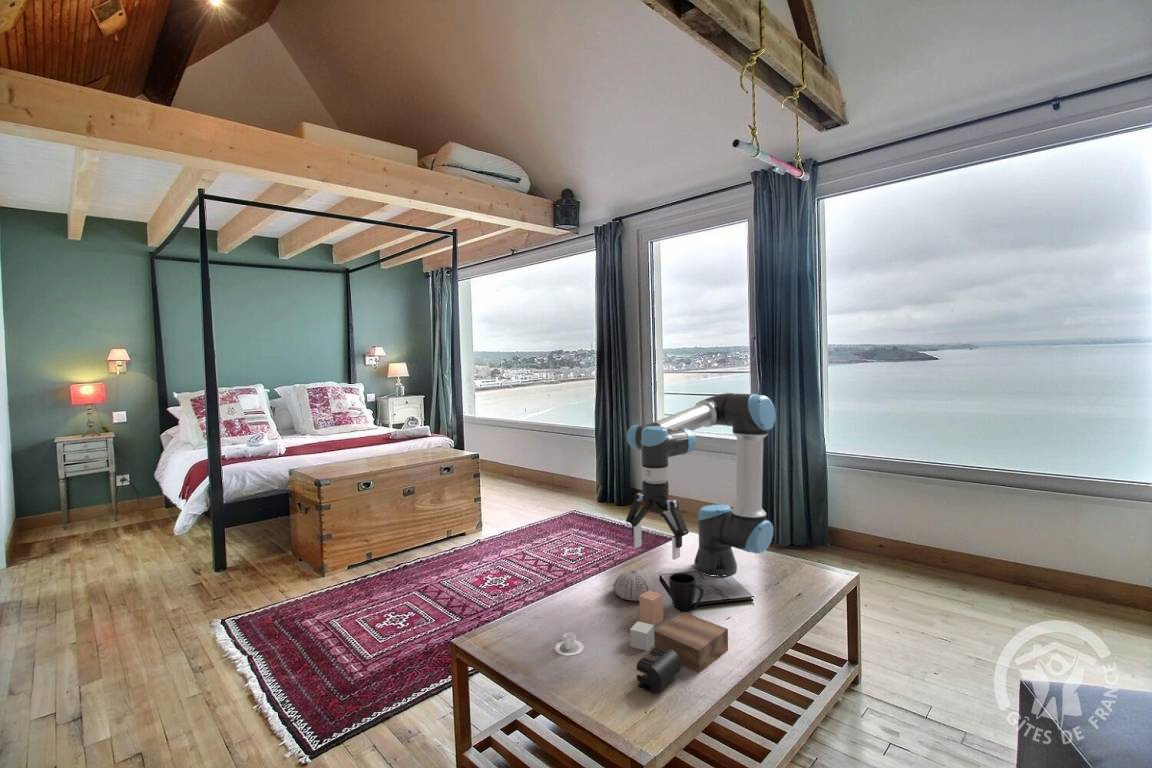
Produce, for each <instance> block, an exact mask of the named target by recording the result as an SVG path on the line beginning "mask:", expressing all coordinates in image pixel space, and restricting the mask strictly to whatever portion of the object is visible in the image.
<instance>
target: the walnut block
mask: <svg viewBox="0 0 1152 768" xmlns="http://www.w3.org/2000/svg"><path fill="white" fill-rule="evenodd" d="M728 629H729V628H727V627H724V626H721V625H718V624H717V623H714V622H711V621H709V620H706V619H703V618H701V617H698V616H696V615H693V614H690V613H687V612H686V611H685V612H684V611H682V613H680V614H678V615H677V616H676V617H674V618H672V619H670V620H669V621H668V622H666V623H665V624H663V625H661V626H660V627H658V628H657V629H654V648H658V649H661V650H663V651H666V652H667V651H668V650H669V649H672V650H673V651H675V652H676V653H677V654H678V656H679V657H680V660H681V666H684V667H685V668H688V669H690V670H692V671H694V672H696V673H701V672H703V671H704V670H705V669H707V667H709V666H710V665H711V664H712V663H714V662H715V661H716V660H718V659H719V658H720V657H721V656H722V655H724V654H726V653H727V652H728V651H729V635H728V634H729V633H728V632H729V630H728Z"/></svg>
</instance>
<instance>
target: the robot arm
mask: <svg viewBox="0 0 1152 768" xmlns="http://www.w3.org/2000/svg"><path fill="white" fill-rule="evenodd" d="M776 417H777V416H776V409H775V405H774V403H773V402H772V400H771V399H770V397H768V396H766V395H763V394H756V393H733V392H732V393H731V392H729V393H728V392H727V393H720V394H717V395H713V396H710V397H707V398H704V399H702V400H700V401H698V402H697V403H696V404H695V406H693V407H690V408H687V409H685V410H681V411H678V412H676V413H673V414H671V415H669V416H666V417H663V418H661V419H658V420H656V421H654V422H651V423H648V424H645V425H642V424H634V425H631V426H630V427H629V428H628V430H627V433H626V441H627V444H628V445H629V447H631V448H633V449H636V450H641V474H642V475H641V476H642V482H641V484H642V485H641V486H642V487H641V488H642V491H641V492H637V493H635V494H634V495H633V502H632V505H631V507H630V509H629V512H628V514H627V517H626V519H625V521H626V523H629V524H630V525H631V535H632V536H633V548H634V549H638V548H640V547H643V545H642V544H643V543H642V524H640V523H641V521H642V520H643V519H644V518H645V516H647V513H649V512H650V513H655V514H659V515H660V517H662V518H663V519H664V521H665V523H666V524H667V526H668V528H669V529H670V530H671V533H672V534H673V535H672V537H671V540H672V541H671V544H672V545H671V546H672V547H671V549H672V550H671V552H672V553H671V556H672V560H674V561H675V560H678V559H679V558H680V557H681V548H682V546H683V537H684V536H687V535H688V534H689V530H688V527H687V525H686V523H685V521H684V518H683V515H682V513H681V510H680V508H679V501H678V499H674V500H671V499H669V498H668V496H669V493H670V491H669V489H670V488H669V481H668V480H669V458H672V457H676V456H682V455H687V454H688V453H691V452H693V451H694V449H695V448H696V446H697V437H696V435H695V433H694V432H693V431H695V430H698V429H700V428H704V427H705V428H710V427H713V426H728V427H732V434H733V435H734V436H735V437H736V470H735V472H736V474H735V475H736V479H735V480H736V481H735V482H736V484H735V485H736V486H735V487H736V489H735V506H734V507H733V508H732V507H731V506H730V505H727V504H710V505H705V506H702V507H701V508H700V509H699V510H698V515H697V516H698V519H697V521H698V522H697V524H698V548H697V552H696V555H695V557H694V562H693V563H694V570H695V571H696V572H698V573H700V572H701V573H700V574H702V573H705V574H708V575H707V576H709V575H716V576H715V577H717V575H718V576H722V577H724V576H723V575H729V576H733V575H734V574H736V573H737V571H738V563H737V561H736V557H735V555H734V552H733V549H732V548H735V549H738V550H742V551H743V552H747V553H752V554H757V555H759V554H762V553H764V552H765V551H766V550H767V549H768V548H769V546H770V544H771V542H772V540H773V537H774V525H773V523H772V522H771V521H770V520H768V519H767V512H766V511H765V510H764V509H763V473H764V472H763V468H764V467H763V465H764V464H763V462H764V460H763V459H764V456H763V455H764V438H766V437H767V436H768V435H769V431H770V430H772V429H773V427H774V425H775V423H776V421H777V420H776V419H777V418H776ZM642 502H643V503H644V504H643V506H642V507H641V505H642ZM640 507H641V508H640ZM639 509H641V510H640V511H639ZM638 511H639V512H638ZM705 574H704V575H705Z"/></svg>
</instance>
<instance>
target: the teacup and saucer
mask: <svg viewBox="0 0 1152 768" xmlns="http://www.w3.org/2000/svg"><path fill="white" fill-rule="evenodd" d="M575 644H576V646H578V649H577V650H576V651H574V652H572V653H571V652H570V653H569V652H568V653H567V652H563V651H562V650H561V648H560V647H562V645H564V648H565V649H566V650H567V651H572V650H574V648H575ZM584 647H585V646H584V644H583V643H582V642H581V641H579V640H577V639H576V635H575V632H572V631H568V632H565V633H563V637H562V640H561V641H559V642H558V643H556V644H555V647H554V650H555V653H557V654H558V655H561V656H566V657H567V656H568V657H570V656H576V655H578V654H580V653H582V652H583V650H584Z"/></svg>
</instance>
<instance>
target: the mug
mask: <svg viewBox="0 0 1152 768" xmlns="http://www.w3.org/2000/svg"><path fill="white" fill-rule="evenodd" d="M696 581H697V580H696V577H695V576H694V575H693V574H691V573H687V572H677V573H676V572H675V573H673V574H671V575H669V577H668V589H669V594H670V598H671V602H672V604H673V608H674V609H675V610H676V611H678V612H685V613H686V612H689V611H694V610H695V609H696V608H697V607H698V605H699V604H700V602H701V600H703V597H704V594H705V590H704V587H703V586H701V585H698V584H696V583H697V582H696ZM696 589H698V590H699V596H698V599H697V600H696V602H695V603H694V601H695V597H696V592H697V591H696Z"/></svg>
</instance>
